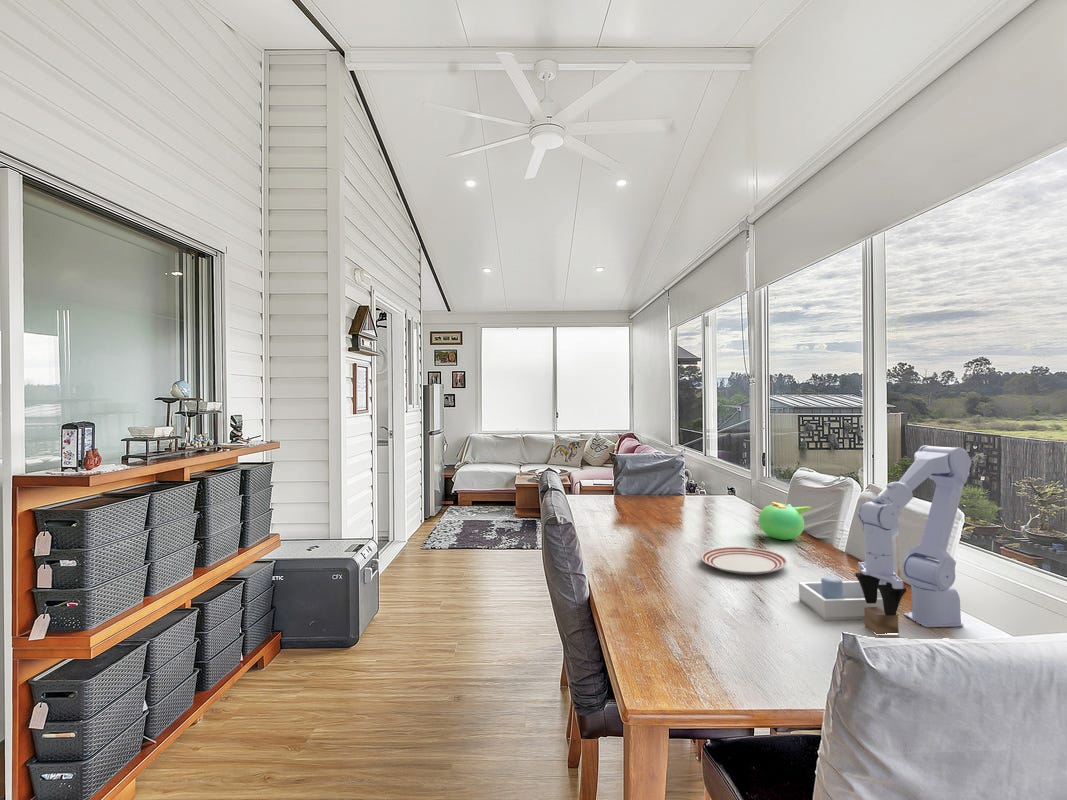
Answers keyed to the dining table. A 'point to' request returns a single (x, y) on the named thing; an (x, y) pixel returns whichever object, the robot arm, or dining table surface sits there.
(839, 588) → the blue cylinder
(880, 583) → the cracker box
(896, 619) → the walnut cube
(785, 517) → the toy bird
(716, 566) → the dinner plate
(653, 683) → the dining table surface
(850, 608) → the tote
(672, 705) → the dining table surface
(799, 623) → the dining table surface
